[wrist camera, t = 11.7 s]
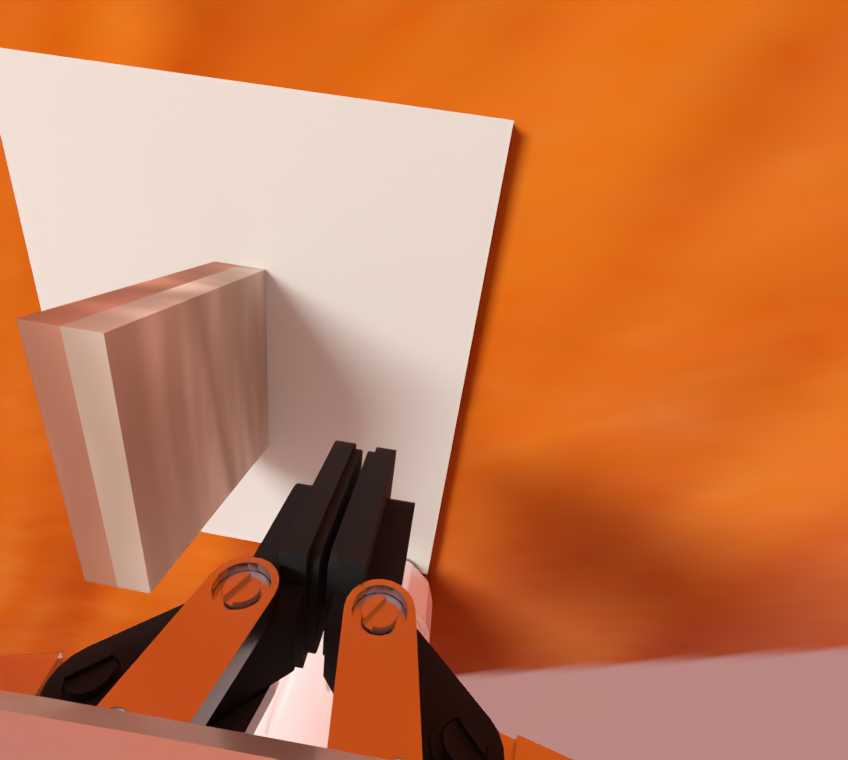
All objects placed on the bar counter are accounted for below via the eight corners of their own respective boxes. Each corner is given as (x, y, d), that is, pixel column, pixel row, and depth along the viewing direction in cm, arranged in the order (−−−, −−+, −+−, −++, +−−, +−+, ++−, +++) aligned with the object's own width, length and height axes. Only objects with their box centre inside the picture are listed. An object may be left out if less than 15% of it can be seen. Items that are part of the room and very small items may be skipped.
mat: (512, 122, 14) (513, 120, 14) (428, 565, 23) (427, 574, 22) (-3, 49, 15) (-21, 45, 15) (96, 502, 24) (87, 510, 23)
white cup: (410, 524, 21) (355, 811, 12) (463, 623, 24) (450, 903, 15) (270, 548, 23) (139, 805, 14) (337, 636, 26) (264, 886, 18)
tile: (265, 269, 17) (103, 333, 10) (268, 445, 20) (150, 593, 13) (214, 261, 17) (15, 318, 10) (226, 438, 20) (85, 580, 13)
